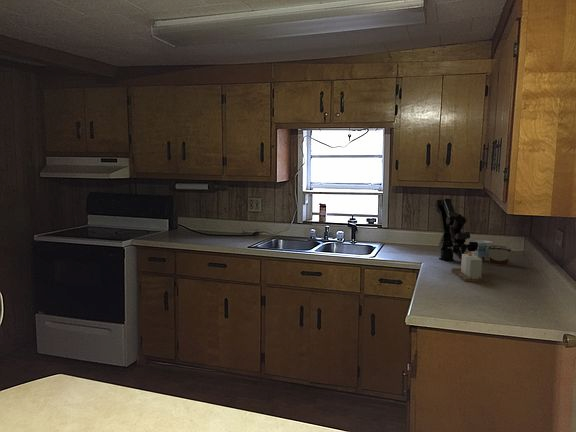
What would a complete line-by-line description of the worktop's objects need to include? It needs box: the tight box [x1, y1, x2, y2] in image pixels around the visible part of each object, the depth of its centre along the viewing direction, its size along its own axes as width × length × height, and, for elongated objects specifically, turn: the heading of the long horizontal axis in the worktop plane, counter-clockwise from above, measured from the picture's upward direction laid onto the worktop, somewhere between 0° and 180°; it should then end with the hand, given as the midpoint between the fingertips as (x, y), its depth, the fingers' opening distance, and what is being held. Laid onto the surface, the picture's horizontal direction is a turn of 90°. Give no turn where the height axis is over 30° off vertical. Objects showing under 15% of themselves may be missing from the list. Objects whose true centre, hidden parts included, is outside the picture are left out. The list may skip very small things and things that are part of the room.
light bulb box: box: [470, 240, 495, 262], centre depth 284 cm, size 11×7×11 cm, turn 105°
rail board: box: [451, 266, 487, 283], centre depth 244 cm, size 21×10×2 cm, turn 178°
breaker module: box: [460, 252, 477, 274], centre depth 243 cm, size 7×6×10 cm
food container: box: [488, 244, 512, 267], centre depth 273 cm, size 12×6×10 cm, turn 59°
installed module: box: [465, 257, 483, 278], centre depth 236 cm, size 6×6×9 cm
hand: (461, 259), depth 254 cm, fingers closed
